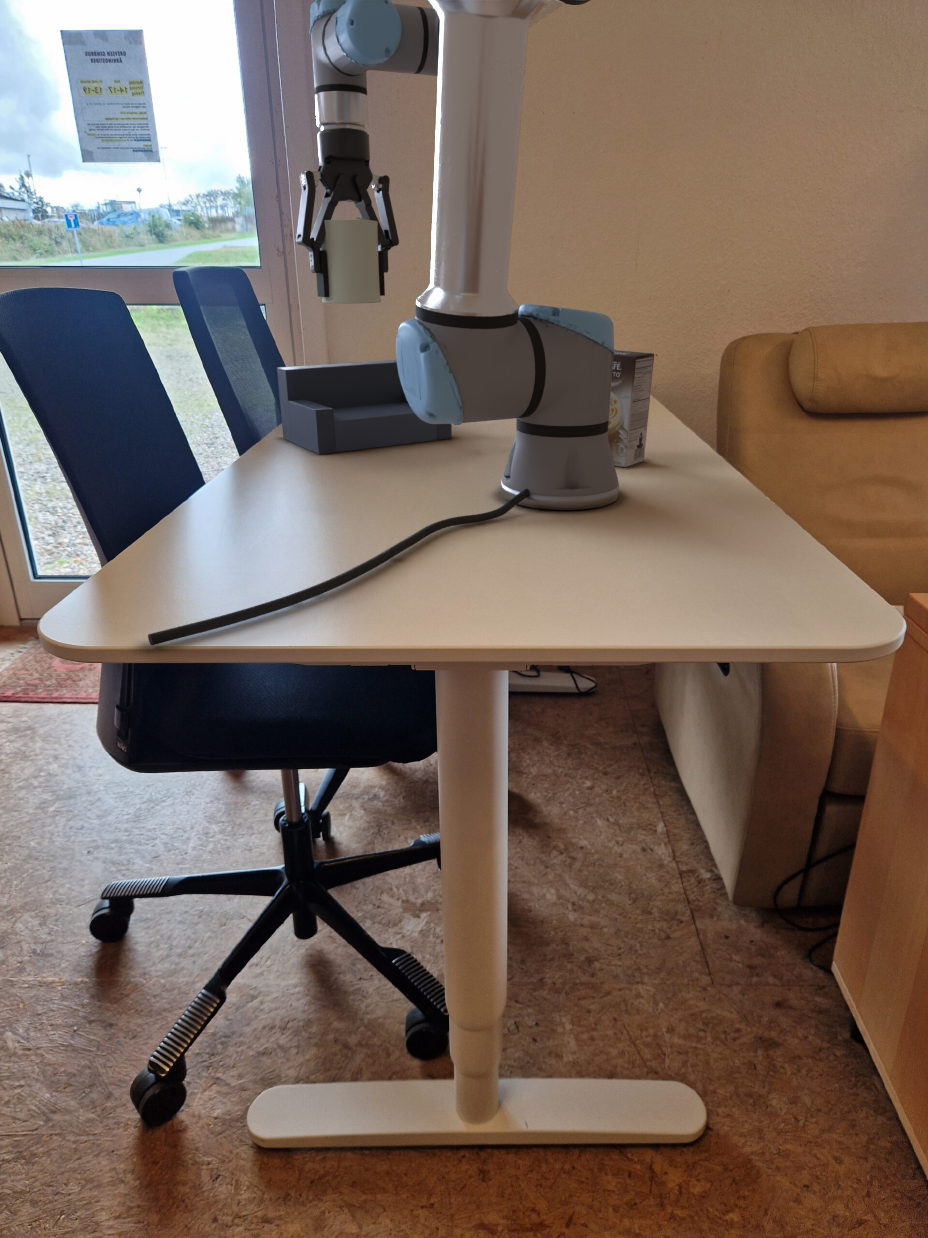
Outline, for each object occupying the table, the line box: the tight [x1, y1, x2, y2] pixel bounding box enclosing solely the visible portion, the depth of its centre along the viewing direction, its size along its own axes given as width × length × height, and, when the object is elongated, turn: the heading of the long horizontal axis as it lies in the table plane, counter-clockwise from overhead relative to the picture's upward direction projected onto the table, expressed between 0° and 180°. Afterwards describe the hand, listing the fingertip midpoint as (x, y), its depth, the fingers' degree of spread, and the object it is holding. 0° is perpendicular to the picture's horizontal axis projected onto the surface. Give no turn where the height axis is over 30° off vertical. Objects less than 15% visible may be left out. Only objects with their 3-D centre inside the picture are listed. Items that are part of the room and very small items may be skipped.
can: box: [320, 217, 382, 305], centre depth 126 cm, size 9×9×12 cm
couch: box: [276, 359, 453, 455], centre depth 141 cm, size 16×25×12 cm, turn 122°
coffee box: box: [608, 349, 655, 468], centre depth 124 cm, size 9×6×16 cm
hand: (351, 295), depth 128 cm, fingers closed on can, 9 cm apart
